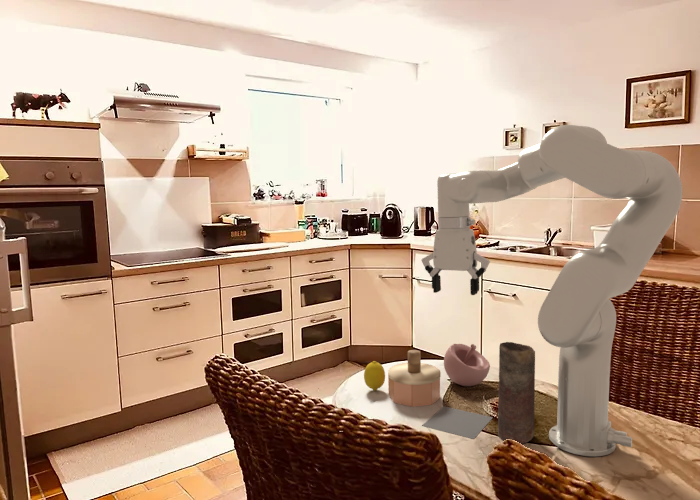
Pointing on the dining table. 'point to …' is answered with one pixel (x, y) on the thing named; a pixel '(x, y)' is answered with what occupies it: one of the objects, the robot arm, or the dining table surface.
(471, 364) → the mortar and pestle
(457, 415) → the mat
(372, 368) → the lemon
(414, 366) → the lid
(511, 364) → the stone cylinder
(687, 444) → the dining table surface
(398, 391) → the bowl
